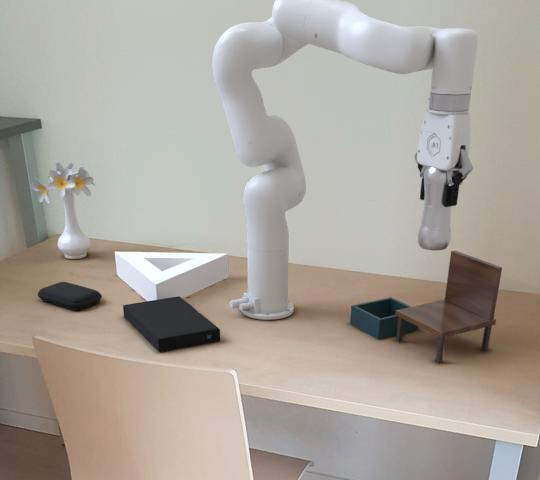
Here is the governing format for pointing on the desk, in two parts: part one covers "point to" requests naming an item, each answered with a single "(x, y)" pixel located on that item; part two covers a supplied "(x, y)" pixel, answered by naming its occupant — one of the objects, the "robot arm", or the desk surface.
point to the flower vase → (68, 206)
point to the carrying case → (69, 295)
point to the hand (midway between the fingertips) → (438, 201)
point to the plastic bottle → (435, 212)
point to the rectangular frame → (379, 317)
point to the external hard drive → (171, 324)
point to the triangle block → (170, 272)
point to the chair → (458, 303)
